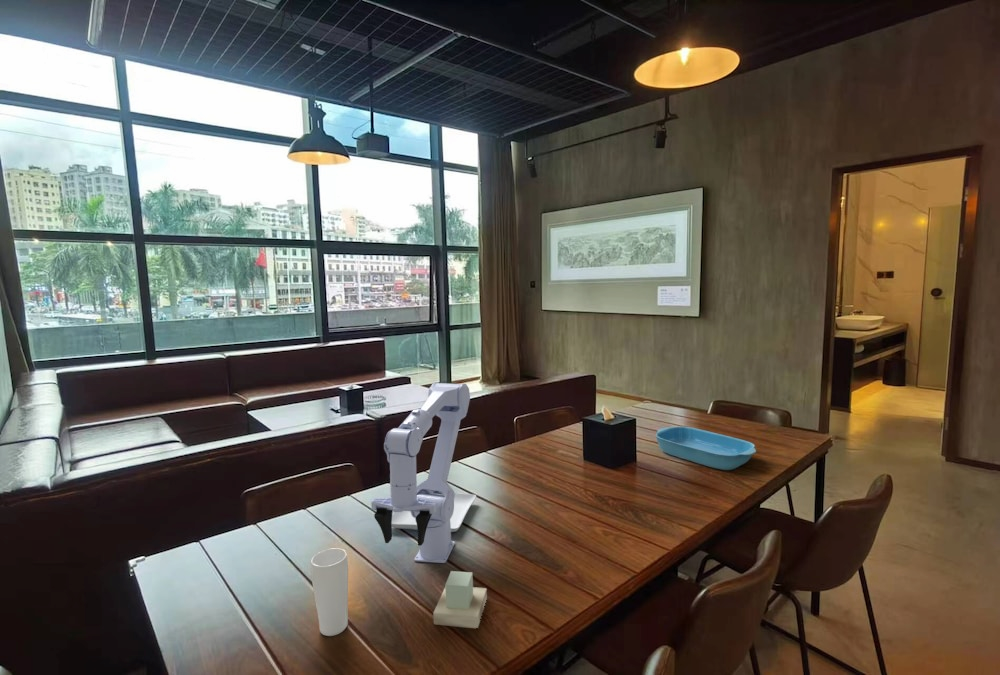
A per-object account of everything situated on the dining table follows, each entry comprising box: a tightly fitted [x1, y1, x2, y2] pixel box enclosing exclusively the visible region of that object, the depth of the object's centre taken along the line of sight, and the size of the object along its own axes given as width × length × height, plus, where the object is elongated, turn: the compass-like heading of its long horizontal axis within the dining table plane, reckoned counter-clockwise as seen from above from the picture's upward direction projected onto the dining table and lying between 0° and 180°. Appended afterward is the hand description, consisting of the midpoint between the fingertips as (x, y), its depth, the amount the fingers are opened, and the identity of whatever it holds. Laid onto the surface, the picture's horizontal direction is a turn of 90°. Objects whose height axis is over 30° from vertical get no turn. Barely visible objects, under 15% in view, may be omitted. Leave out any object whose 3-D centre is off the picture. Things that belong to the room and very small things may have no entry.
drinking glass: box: [310, 547, 349, 637], centre depth 94 cm, size 7×7×15 cm
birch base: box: [432, 586, 488, 629], centre depth 99 cm, size 9×9×3 cm
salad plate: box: [392, 492, 477, 533], centre depth 140 cm, size 21×21×3 cm
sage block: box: [444, 570, 474, 610], centre depth 98 cm, size 5×5×5 cm
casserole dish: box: [655, 426, 757, 471], centre depth 182 cm, size 37×22×7 cm, turn 38°
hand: (404, 542), depth 107 cm, fingers open, 7 cm apart
